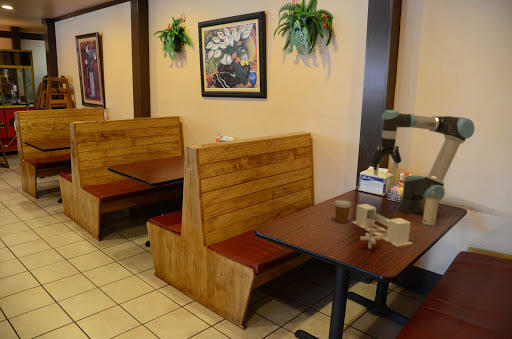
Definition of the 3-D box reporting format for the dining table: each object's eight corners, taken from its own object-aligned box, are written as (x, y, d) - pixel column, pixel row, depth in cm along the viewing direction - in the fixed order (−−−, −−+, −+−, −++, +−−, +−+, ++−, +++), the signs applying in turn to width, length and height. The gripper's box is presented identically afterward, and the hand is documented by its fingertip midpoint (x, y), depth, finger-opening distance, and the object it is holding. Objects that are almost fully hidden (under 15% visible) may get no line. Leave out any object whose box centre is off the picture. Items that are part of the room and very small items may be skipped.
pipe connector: (356, 243, 189) (358, 225, 187) (375, 243, 190) (377, 225, 188) (363, 252, 180) (365, 232, 177) (383, 252, 180) (385, 232, 178)
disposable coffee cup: (350, 220, 223) (352, 201, 220) (347, 225, 214) (349, 205, 212) (335, 217, 227) (336, 198, 224) (331, 222, 218) (332, 202, 216)
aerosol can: (428, 221, 225) (432, 189, 220) (437, 225, 219) (442, 192, 214) (419, 222, 222) (424, 190, 217) (429, 226, 216) (434, 193, 211)
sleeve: (355, 222, 219) (357, 205, 216) (365, 221, 221) (366, 203, 219) (364, 227, 211) (366, 209, 209) (374, 226, 214) (376, 207, 212)
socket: (386, 239, 195) (388, 219, 193) (398, 237, 198) (400, 217, 196) (396, 245, 189) (398, 224, 186) (408, 243, 192) (410, 222, 190)
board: (351, 222, 220) (351, 221, 220) (365, 220, 224) (365, 219, 224) (397, 247, 187) (397, 245, 187) (412, 244, 191) (412, 243, 190)
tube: (366, 217, 212) (366, 210, 211) (372, 217, 213) (372, 210, 212) (397, 233, 190) (398, 225, 189) (403, 232, 192) (404, 224, 191)
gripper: (400, 136, 219) (396, 171, 224) (366, 137, 210) (363, 174, 214) (410, 138, 213) (406, 174, 217) (375, 139, 203) (372, 177, 207)
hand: (384, 174), depth 216 cm, fingers open, 13 cm apart
